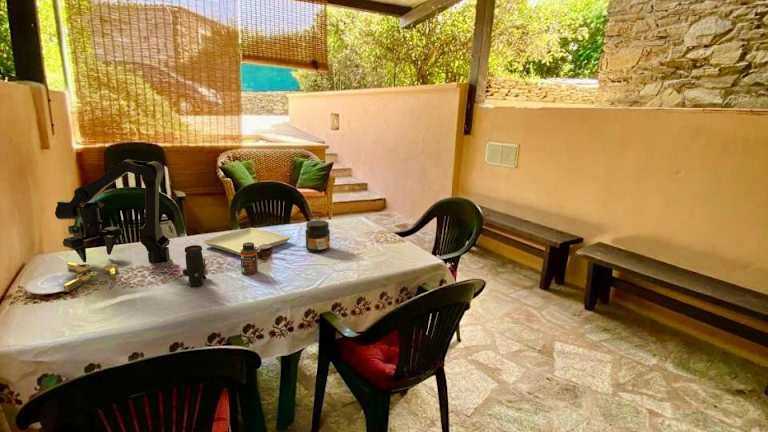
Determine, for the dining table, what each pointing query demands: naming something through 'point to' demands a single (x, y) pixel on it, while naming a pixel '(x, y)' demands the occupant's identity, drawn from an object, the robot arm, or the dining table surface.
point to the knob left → (77, 281)
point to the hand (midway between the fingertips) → (97, 258)
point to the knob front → (79, 267)
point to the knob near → (111, 270)
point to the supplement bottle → (249, 259)
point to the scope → (195, 266)
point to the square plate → (246, 239)
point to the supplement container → (317, 236)
